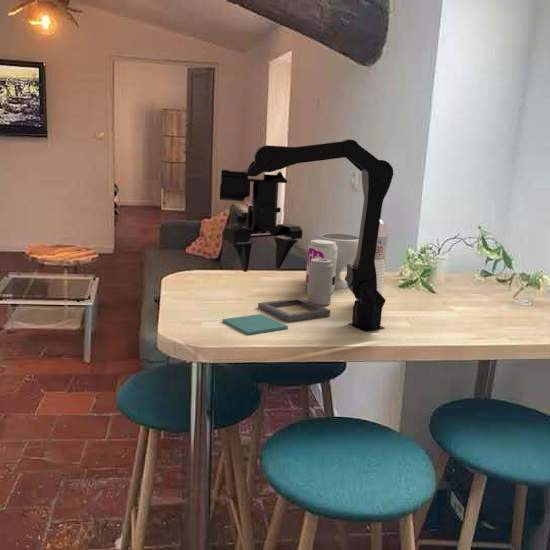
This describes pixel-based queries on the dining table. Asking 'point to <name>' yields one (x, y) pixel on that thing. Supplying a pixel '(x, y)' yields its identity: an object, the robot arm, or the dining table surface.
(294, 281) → the dining table surface
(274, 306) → the gray square frame
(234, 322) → the teal mat
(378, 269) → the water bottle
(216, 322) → the dining table surface
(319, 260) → the beverage can
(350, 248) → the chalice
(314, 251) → the supplement can
